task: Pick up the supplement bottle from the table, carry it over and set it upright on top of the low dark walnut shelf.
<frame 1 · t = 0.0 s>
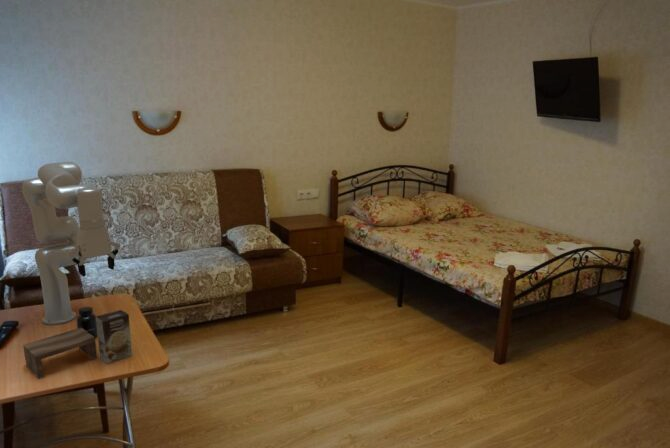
hand: (97, 272, 176), 31 cm above the table, tool pointing down, fingers open, 9 cm apart
walnut shelf: (62, 362, 177), on the table
supplement bottle: (88, 338, 195), on the table
coffee box: (116, 357, 181), on the table
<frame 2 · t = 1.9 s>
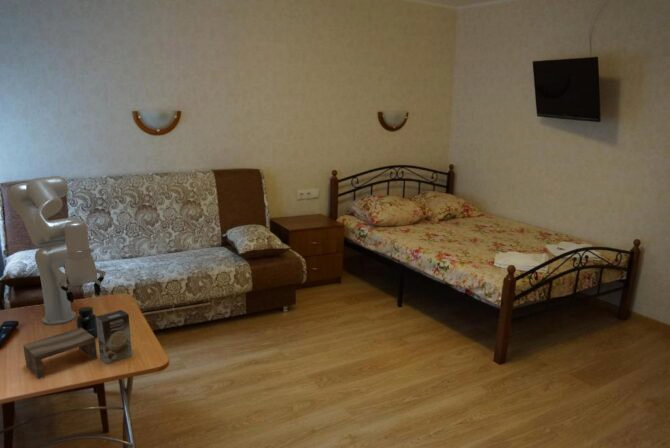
hand: (84, 297, 191), 17 cm above the table, tool pointing down, fingers open, 9 cm apart
nothing on the table moved.
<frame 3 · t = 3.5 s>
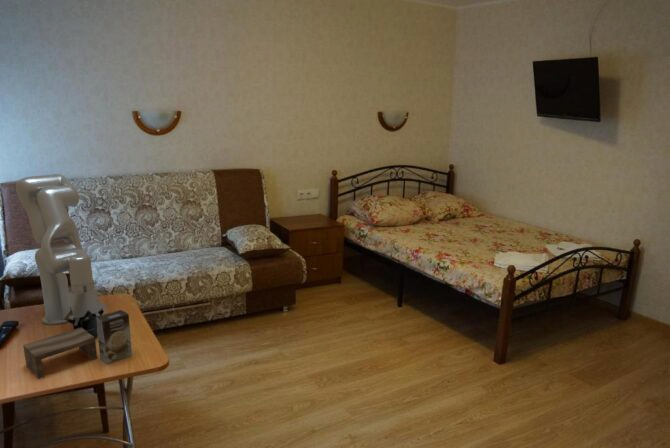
hand: (87, 330, 195), 3 cm above the table, tool pointing down, fingers closed on supplement bottle, 6 cm apart
supplement bottle: (88, 338, 195), on the table, touching gripper
everything else where it was.
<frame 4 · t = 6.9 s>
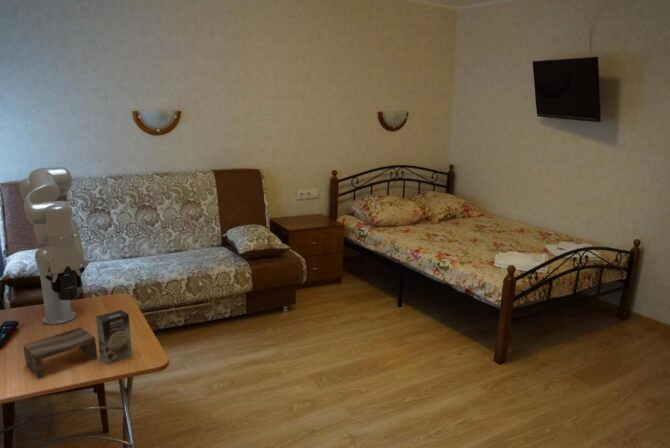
hand: (67, 288, 179), 24 cm above the table, tool pointing down, fingers closed on supplement bottle, 6 cm apart
supplement bottle: (68, 297, 180), point 21 cm above the table, touching gripper
everything else where it was.
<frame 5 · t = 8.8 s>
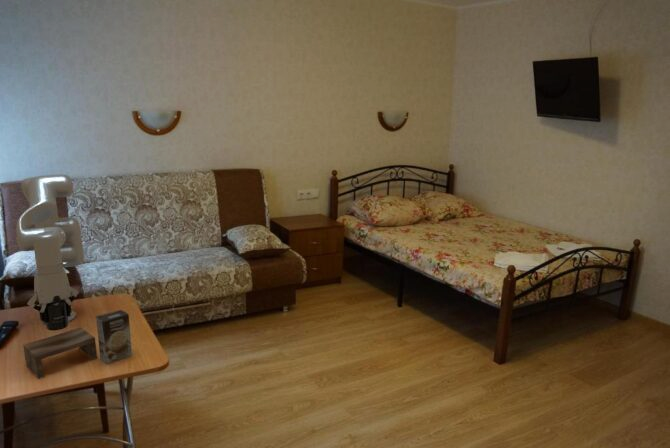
hand: (56, 318, 173), 17 cm above the table, tool pointing down, fingers closed on supplement bottle, 6 cm apart
supplement bottle: (58, 327, 174), point 13 cm above the table, touching gripper
everything else where it was.
when the fingers open (12 cm above the table, at t = 10.2 s): supplement bottle stays where it is, resting on walnut shelf.
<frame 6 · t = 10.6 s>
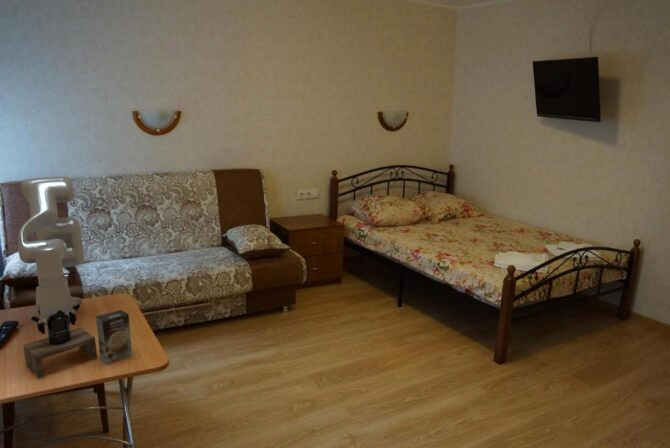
hand: (57, 328, 174), 13 cm above the table, tool pointing down, fingers open, 9 cm apart
supplement bottle: (60, 341, 176), point 8 cm above the table, touching walnut shelf
everything else where it was.
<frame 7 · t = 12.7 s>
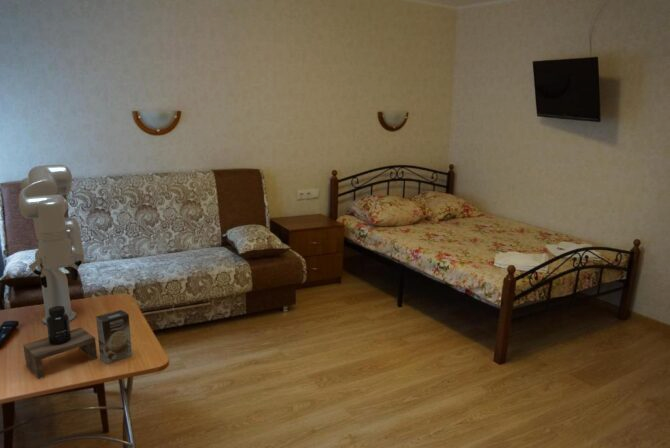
hand: (60, 283, 176), 27 cm above the table, tool pointing down, fingers open, 9 cm apart
nothing on the table moved.
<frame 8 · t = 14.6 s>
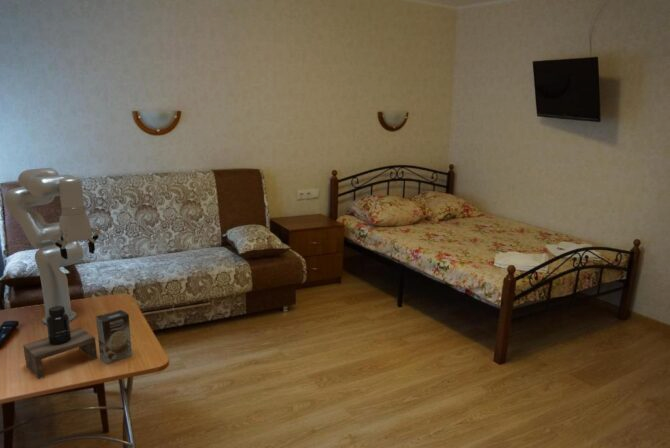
hand: (78, 255, 191), 32 cm above the table, tool pointing down, fingers open, 9 cm apart
nothing on the table moved.
at the end: supplement bottle inside the target area on the walnut shelf (0.3 cm from its centre), point 7.8 cm above the walnut shelf's base; supplement bottle tilted 0°; the gripper is holding nothing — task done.
